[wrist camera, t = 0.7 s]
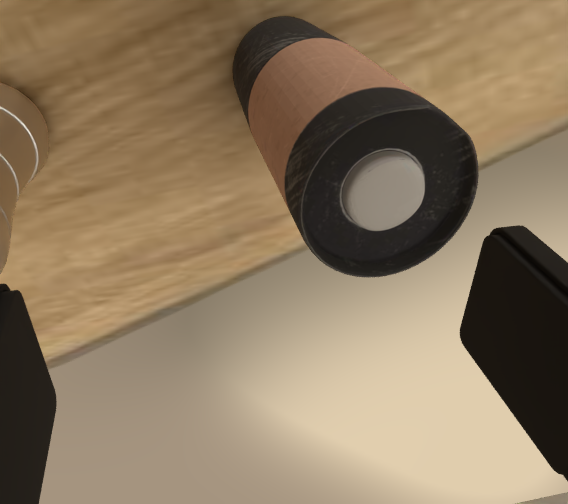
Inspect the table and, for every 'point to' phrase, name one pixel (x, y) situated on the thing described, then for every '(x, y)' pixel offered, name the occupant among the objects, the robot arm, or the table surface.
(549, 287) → the robot arm
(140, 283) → the table surface
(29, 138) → the metal bottle
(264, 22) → the travel mug
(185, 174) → the table surface
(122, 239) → the table surface
